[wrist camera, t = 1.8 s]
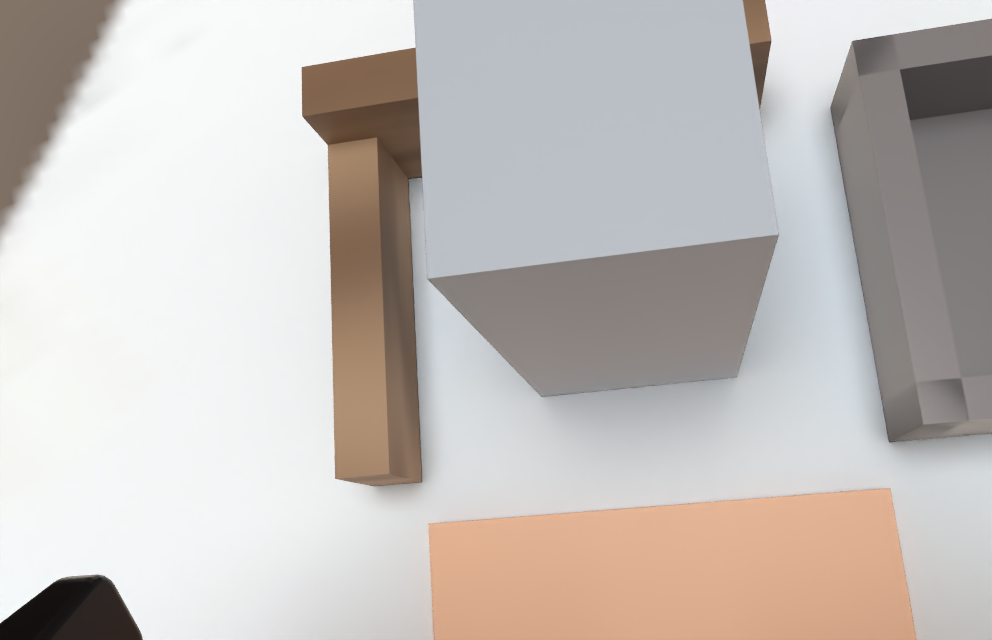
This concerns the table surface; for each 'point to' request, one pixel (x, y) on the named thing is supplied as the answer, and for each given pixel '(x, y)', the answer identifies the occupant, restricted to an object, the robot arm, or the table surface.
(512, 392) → the table surface
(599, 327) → the slate block
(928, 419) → the dark grey open box
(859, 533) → the pad
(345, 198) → the walnut bracket
